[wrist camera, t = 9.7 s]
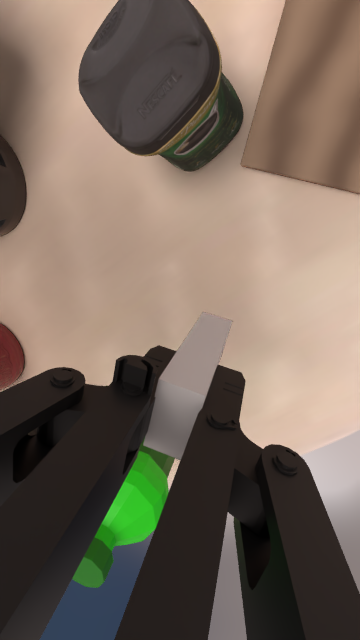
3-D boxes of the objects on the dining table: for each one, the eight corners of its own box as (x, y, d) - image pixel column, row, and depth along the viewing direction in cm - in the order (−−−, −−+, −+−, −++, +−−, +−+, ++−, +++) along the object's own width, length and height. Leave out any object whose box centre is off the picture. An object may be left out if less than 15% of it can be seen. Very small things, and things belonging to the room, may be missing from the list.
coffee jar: (210, 58, 34) (147, -84, 17) (254, 121, 35) (235, 44, 18) (147, 129, 38) (46, 71, 21) (188, 184, 39) (122, 170, 22)
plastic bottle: (170, 367, 48) (77, 513, 26) (212, 419, 49) (159, 602, 27) (126, 396, 52) (13, 542, 30) (166, 443, 53) (86, 618, 31)
